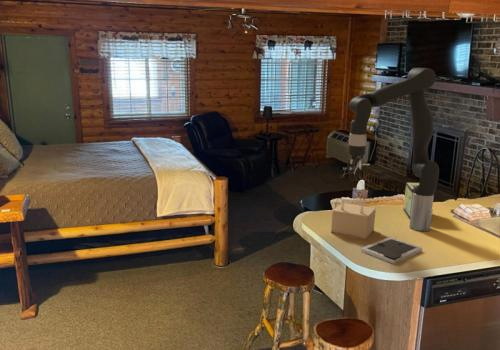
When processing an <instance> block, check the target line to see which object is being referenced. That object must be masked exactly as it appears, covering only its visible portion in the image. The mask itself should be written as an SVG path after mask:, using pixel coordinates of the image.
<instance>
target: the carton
mask: <svg viewBox="0 0 500 350" xmlns="http://www.w3.org/2000/svg"><path fill="white" fill-rule="evenodd" d="M376 212H377V211H376V210H375V211H374V212H373V213H372V214H371V215H370V216H369V217H368V218H363V217H358V216H352V215H346V214H341V213H335V212H333V211H332V212H331V213H332V215H331V227H330V228H331V231H330V233H331V234H335V235H339V236H345V237H349V238H356V239H360V240H364V239H365V241H366V240H367V239H368V238H369V236H370V235H372V233H373V232H374V231H373V230H375V222H376V221H375V219H376ZM372 231H373V232H372ZM367 237H368V238H367Z"/></svg>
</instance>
